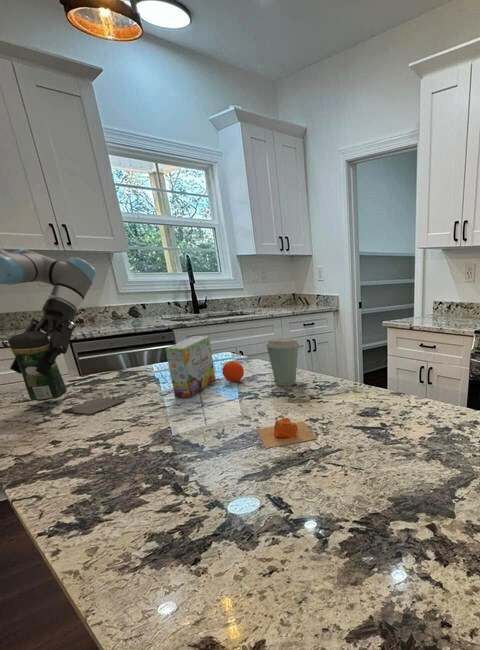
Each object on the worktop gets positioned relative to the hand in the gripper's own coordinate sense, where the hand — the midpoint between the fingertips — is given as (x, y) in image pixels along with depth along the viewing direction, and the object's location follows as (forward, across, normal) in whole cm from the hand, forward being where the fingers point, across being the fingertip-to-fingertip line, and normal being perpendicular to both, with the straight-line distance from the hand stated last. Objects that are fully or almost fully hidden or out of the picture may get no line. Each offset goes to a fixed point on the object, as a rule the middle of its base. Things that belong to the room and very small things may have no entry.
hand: (28, 372), depth 116 cm
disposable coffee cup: (-20, -59, -34) cm, 71 cm away
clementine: (-19, -40, -33) cm, 55 cm away
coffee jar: (+4, 0, -8) cm, 9 cm away
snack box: (-12, -33, -26) cm, 43 cm away
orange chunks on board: (+8, -79, -6) cm, 80 cm away
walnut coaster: (+5, -16, -9) cm, 19 cm away
